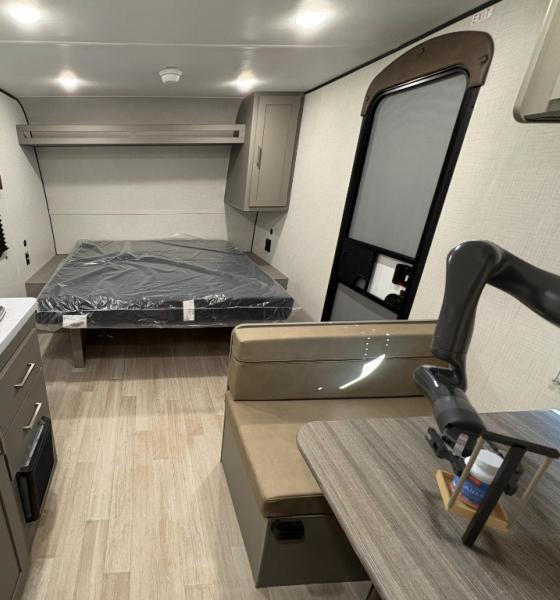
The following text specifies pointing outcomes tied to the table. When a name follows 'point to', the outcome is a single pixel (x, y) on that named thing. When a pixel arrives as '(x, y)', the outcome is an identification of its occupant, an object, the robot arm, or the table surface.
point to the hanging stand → (493, 486)
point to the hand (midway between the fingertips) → (487, 484)
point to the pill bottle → (478, 477)
